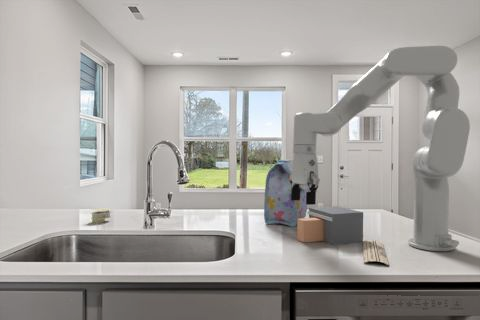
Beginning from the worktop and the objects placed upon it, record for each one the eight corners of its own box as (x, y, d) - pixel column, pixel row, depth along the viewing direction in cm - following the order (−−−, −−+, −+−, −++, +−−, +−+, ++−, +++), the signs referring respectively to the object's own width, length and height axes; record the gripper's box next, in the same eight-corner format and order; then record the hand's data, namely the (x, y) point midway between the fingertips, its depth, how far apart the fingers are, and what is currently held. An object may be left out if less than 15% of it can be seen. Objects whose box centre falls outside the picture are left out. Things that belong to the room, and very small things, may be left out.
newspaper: (362, 244, 114) (362, 239, 113) (386, 246, 111) (386, 241, 111) (364, 266, 91) (364, 259, 91) (393, 269, 89) (393, 262, 89)
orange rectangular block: (349, 238, 119) (349, 217, 119) (303, 242, 113) (303, 220, 113) (342, 235, 123) (342, 215, 123) (297, 239, 116) (297, 218, 116)
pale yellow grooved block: (98, 225, 140) (98, 211, 140) (84, 223, 144) (84, 210, 144) (118, 221, 149) (118, 208, 149) (104, 219, 153) (104, 206, 153)
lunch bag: (302, 228, 135) (302, 160, 135) (261, 224, 142) (261, 159, 141) (312, 218, 156) (313, 159, 156) (276, 215, 163) (276, 159, 162)
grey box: (362, 241, 115) (363, 212, 115) (330, 244, 110) (330, 214, 110) (337, 232, 128) (337, 206, 128) (307, 235, 124) (307, 207, 123)
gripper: (329, 151, 108) (327, 206, 108) (301, 150, 124) (299, 198, 124) (308, 150, 105) (306, 206, 106) (282, 150, 122) (280, 198, 122)
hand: (302, 202), depth 115 cm, fingers open, 9 cm apart
